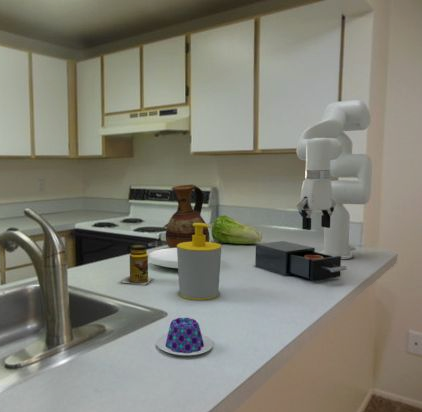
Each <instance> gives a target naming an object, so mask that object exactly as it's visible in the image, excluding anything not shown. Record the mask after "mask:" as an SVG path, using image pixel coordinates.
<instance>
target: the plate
mask: <svg viewBox="0 0 422 412" xmlns="http://www.w3.org/2000/svg"><path fill="white" fill-rule="evenodd" d="M148 262H149V263H151V264H153V265H156V266H160V267H164V268H171V269H178V258H177V248H170V247H168V248H162V249H156V250H153V251H151V252H150V253H149V254H148Z"/></svg>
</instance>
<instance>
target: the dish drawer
mask: <svg viewBox="0 0 422 412" xmlns="http://www.w3.org/2000/svg"><path fill="white" fill-rule="evenodd" d="M305 255H319V256H322V257H323V258H320V259H313V260H311V259H308V258H304V256H305ZM347 269H348V268H347V266H346V265H342V259H341V257H340V256H334V257H333V256H331V255H326V254H322V253H319V252H317V251H315V252H313V251H303V252H295V253H288V261H287V272H290V273H293V274H295V275H296V276H300V277H303V278H306V279H309V280H310V282H318V281H323V280H329V279H333V278H334V279H336V278H341V272H343V271H347Z"/></svg>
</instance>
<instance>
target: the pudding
mask: <svg viewBox="0 0 422 412" xmlns="http://www.w3.org/2000/svg"><path fill="white" fill-rule="evenodd" d="M201 331H202V330H201V327H200V324H199V322H198V321H197V320H196V319H194V318H190V317H177V318H175V319H172V320H171V322H170V324H169V328H168V332H166V333H164V334H162V335H160V336H158V338H157V339H156V341H155V344H156V346H157V347H158V348H159V349H160V350H161V351H163V352H166V353H168V354H172V355H177V356H197V355H200V354H204V353H206V352H208V351H210V350H211V349H212V348H213V346H214V342H213V340H212V339H211V338H210V337H209V336H208V335H205V334H203V333H202V332H201Z"/></svg>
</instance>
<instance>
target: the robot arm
mask: <svg viewBox="0 0 422 412" xmlns="http://www.w3.org/2000/svg"><path fill="white" fill-rule="evenodd" d="M370 125H371V112H370V110H369V108H368V106H367V104H366V103H365V102H364V101H363V100H360V99H353V100H343V101H342V100H341V101H334V102H330V103H329V104H328V105H326V107H325V108H324V111H323V113H322V116H321V119H320V120H319V122H316V123H315V124H313V125H311V126H310V127H307V128H306V129H304V131H303V132H302V133H301V135H300V137H299V139H298V142H297V145H296V155H297V158H298V159H299V160H301V161H304V162H305V176H304V180H303V182H302V185H301V191H300V202H299V203H298V204H296V208H297V210H298V213H299V215H300V217H301V218H302V219H301V220H302V222H301V223H302V225H301V227H302V230H305V231H311V230H312V217H311V215H312V214H313V212H315V211H317V212H318V211H321V213H322V215H321V218H320V219H321V223H320V226H321V227H322V228H323V247H322V248H323V249H322V250H321V251H319V252H318V253H322V254H326V255H331V256H333V257H334V256H340V257H341V260H349V259H352V258H353V254H352V253H351V251H355V250H356V248H357V247H356V246H355V245H350V222H351V221H350V218H351V217H350V215H351V214H350V212H349V211H348V209H347V208H346V207H345V205H366V204H368V203H369V202H370V199H371V193H372V192H371V191H372V176H373V162H372V161H373V160H372V158H371V156H370V155H368V154H366V153H353V141H352V139H351V138H350V137H349V136H348V135H347V134H346V133H345V132H353V131H356V132H357V131H365V130H367V129H368V128H369V126H370ZM331 177H333V178H343V179H344V178H345V180H343V179H341V180H339V179H338V180H337V179H335V180H331ZM346 178H354V179H355V178H356V179H358V180H347V179H346Z"/></svg>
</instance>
